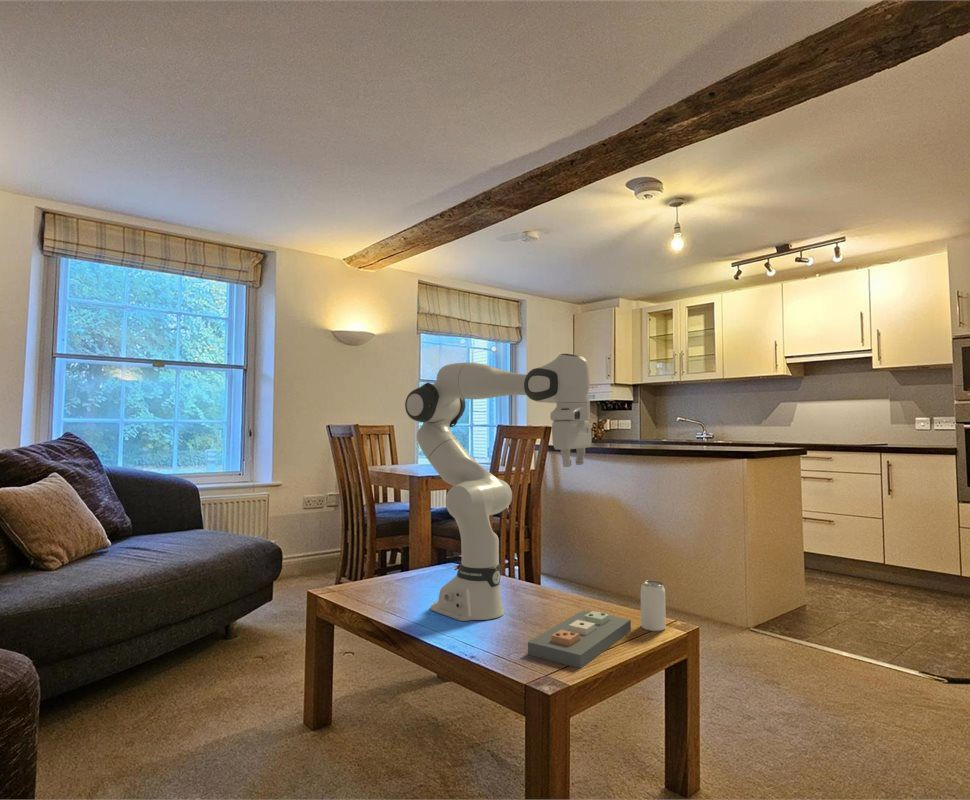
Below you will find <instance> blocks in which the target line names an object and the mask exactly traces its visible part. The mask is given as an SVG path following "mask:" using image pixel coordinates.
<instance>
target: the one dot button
mask: <svg viewBox="0 0 970 800" xmlns="http://www.w3.org/2000/svg"><path fill="white" fill-rule="evenodd" d="M569 631H570V632H575V633H579V634H582V635H586V636H588V635H589V634H591V633H592V632H594V631H595V623H591V622H586V621H581V620H576V621H575V622H573V623H571V624H570V625H569Z"/></svg>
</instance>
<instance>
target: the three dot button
mask: <svg viewBox="0 0 970 800" xmlns="http://www.w3.org/2000/svg"><path fill="white" fill-rule="evenodd" d="M578 641H579V633H575V632H570V631H566V630H559V631H558V632H556V633H554V634H553V635H551V642H553V643H557V644H561V645H565V646H569V647H571V646H572V645H574V644H575V643H577V642H578Z"/></svg>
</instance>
